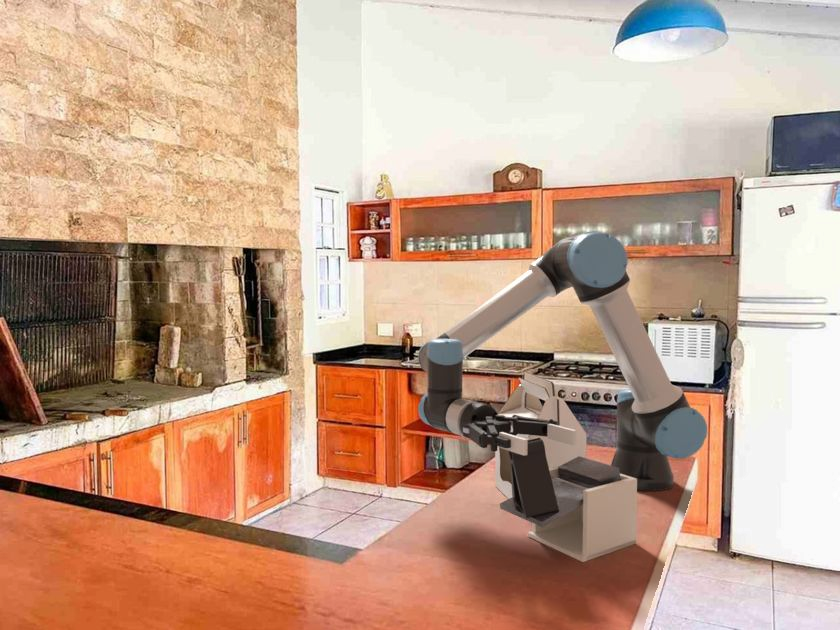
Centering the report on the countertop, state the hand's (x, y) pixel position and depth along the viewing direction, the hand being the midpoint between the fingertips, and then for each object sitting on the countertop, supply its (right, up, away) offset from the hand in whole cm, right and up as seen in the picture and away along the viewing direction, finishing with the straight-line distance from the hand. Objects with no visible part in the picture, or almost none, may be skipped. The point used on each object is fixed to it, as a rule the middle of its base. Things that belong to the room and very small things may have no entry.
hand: (551, 442), depth 115 cm
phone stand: (-2, -12, +4) cm, 13 cm away
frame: (+8, -21, +11) cm, 25 cm away
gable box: (+4, -20, +35) cm, 40 cm away
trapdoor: (+4, -13, +8) cm, 16 cm away
